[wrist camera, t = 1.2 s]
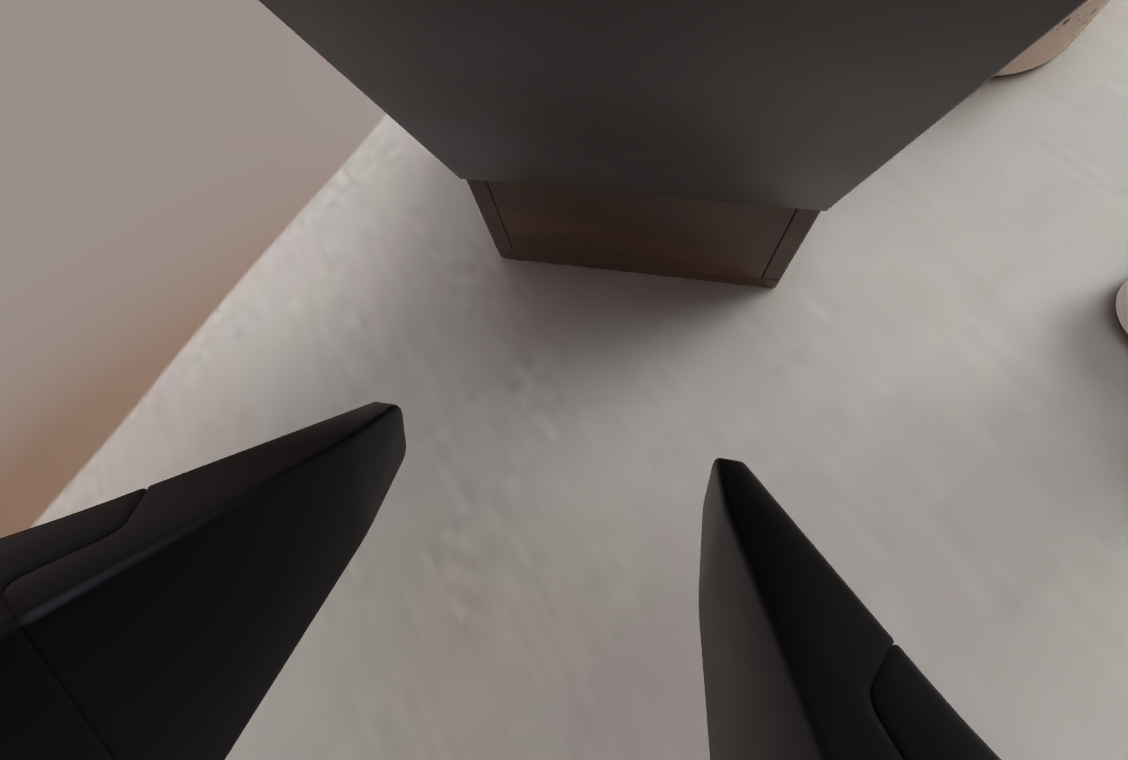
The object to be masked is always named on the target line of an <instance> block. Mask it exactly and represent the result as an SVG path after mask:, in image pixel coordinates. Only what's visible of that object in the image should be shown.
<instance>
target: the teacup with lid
mask: <svg viewBox="0 0 1128 760" xmlns="http://www.w3.org/2000/svg"><path fill="white" fill-rule="evenodd" d="M1109 1H1110V0H1088V1H1087V2H1085V3H1084V4H1083V5H1082V6H1080V7H1079V8H1078V9H1077V10H1075V11H1074V12H1073V13H1072V14H1070V15H1069V16H1068V17H1067V18H1065V19H1064V20H1063V21H1062V22H1060V23H1059V24H1058V25H1057V26H1055V27H1054V28H1053V29H1052V30H1051V31H1049V32H1048V33H1047V34H1046V35H1044V36H1043V37H1042V38H1041V39H1039V40H1038V41H1037V42H1036V43H1034V44H1033V45H1032V46H1031V47H1029V48H1028V49H1027V50H1026V51H1024V52H1023V53H1022V54H1021V55H1019V56H1018V57H1017V58H1016V59H1014V60H1013V61H1012V62H1011V63H1009V64H1008V65H1007V66H1006V67H1004V68H1003V69H1002V70H1001V71H999V72H998V73H997V74H996V75H995V76H1001V75H1009V74H1015V73H1019V72H1023V71H1026V70H1030V69H1033V68H1035V67H1037V66H1040V65H1042V64H1044V63H1046V62H1048V61H1049V60H1051V59H1053V58H1054V57H1056V56H1057V55H1059V54H1060V53H1061V52H1062V51H1064V50H1065V49H1066V48H1067V47H1068V46H1069V45H1070V44H1071V43H1072V42H1073V41H1074V40H1075V38H1076V37H1077V36H1078V35H1079V34H1080V33H1081V32H1082V31H1083V30H1084V28H1085V27H1086V26H1087V25H1088V24H1089V23H1090V22H1091V21H1092V20H1093V18H1094V17H1095V16H1096V15H1097V14H1098V13H1099V12H1100V11H1101V10H1102V8H1103V7H1104V6H1105V5H1106V4H1107V3H1108V2H1109Z"/></svg>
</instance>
